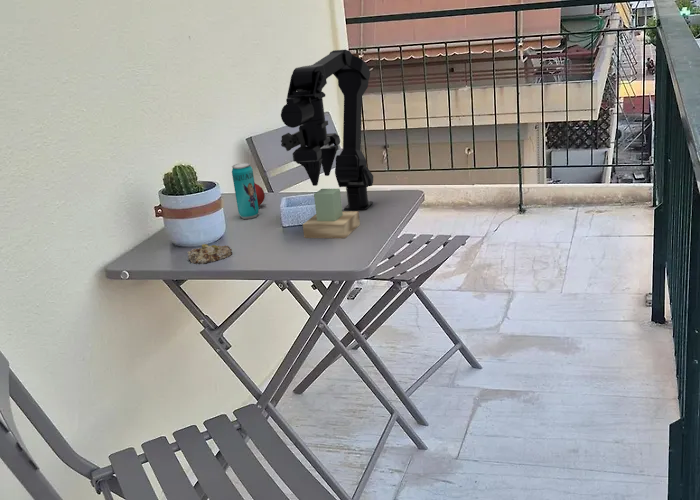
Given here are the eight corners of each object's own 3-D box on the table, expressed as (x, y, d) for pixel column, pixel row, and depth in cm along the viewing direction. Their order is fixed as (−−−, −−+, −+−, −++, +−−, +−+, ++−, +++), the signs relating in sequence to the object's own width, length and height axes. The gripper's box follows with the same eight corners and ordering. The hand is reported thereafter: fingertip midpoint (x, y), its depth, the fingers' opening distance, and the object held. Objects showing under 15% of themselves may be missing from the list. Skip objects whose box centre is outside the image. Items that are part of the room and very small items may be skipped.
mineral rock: (185, 258, 177) (186, 240, 184) (188, 273, 180) (189, 255, 186) (231, 253, 178) (231, 235, 185) (233, 268, 181) (233, 250, 187)
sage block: (324, 215, 194) (321, 188, 191) (342, 215, 192) (339, 188, 190) (317, 220, 189) (313, 194, 187) (335, 221, 188) (332, 194, 185)
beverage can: (249, 220, 209) (241, 167, 204) (235, 218, 213) (226, 166, 208) (263, 214, 214) (255, 162, 209) (249, 212, 217) (241, 161, 212)
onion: (249, 205, 225) (245, 179, 222) (268, 204, 224) (264, 177, 221) (244, 210, 220) (240, 184, 217) (263, 209, 219) (259, 183, 216)
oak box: (321, 225, 199) (319, 211, 198) (360, 226, 195) (358, 211, 194) (304, 239, 189) (302, 224, 188) (345, 240, 185) (343, 224, 184)
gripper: (296, 113, 196) (304, 172, 201) (268, 128, 179) (278, 191, 184) (336, 111, 192) (344, 170, 197) (312, 126, 176) (320, 190, 181)
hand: (321, 180), depth 190 cm, fingers open, 9 cm apart
